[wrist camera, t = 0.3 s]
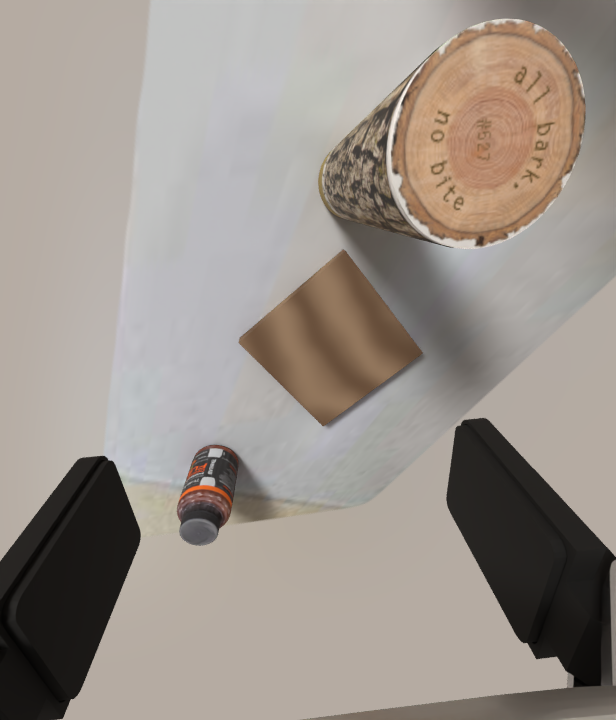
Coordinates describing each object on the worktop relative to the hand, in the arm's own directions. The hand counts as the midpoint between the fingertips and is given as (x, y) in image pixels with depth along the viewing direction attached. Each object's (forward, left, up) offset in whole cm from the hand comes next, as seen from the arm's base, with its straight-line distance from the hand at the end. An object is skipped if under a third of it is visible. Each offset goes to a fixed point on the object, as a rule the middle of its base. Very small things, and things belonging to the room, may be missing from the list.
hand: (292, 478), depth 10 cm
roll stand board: (+1, +10, -31) cm, 32 cm away
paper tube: (-11, -2, -31) cm, 33 cm away
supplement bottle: (+23, +13, -31) cm, 41 cm away
